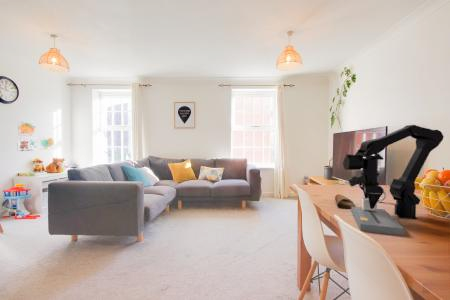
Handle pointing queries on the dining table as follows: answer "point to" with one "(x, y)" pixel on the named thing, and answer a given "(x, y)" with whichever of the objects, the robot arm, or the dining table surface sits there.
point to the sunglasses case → (343, 202)
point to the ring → (383, 198)
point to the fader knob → (367, 205)
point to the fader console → (376, 221)
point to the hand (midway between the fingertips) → (369, 205)
